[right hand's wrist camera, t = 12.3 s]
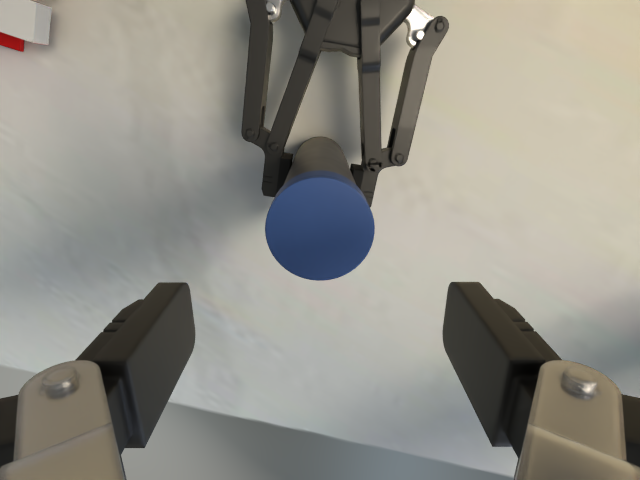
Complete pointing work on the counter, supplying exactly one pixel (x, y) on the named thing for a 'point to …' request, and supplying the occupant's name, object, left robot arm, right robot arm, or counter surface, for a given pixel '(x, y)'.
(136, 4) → the counter surface
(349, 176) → the grey cylinder
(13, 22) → the toy
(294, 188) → the lid
